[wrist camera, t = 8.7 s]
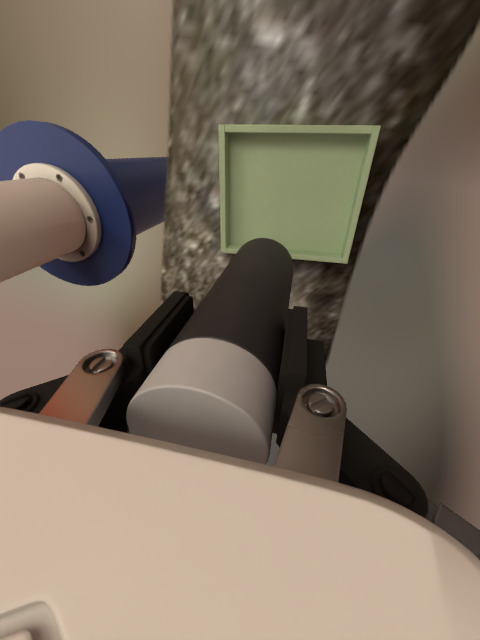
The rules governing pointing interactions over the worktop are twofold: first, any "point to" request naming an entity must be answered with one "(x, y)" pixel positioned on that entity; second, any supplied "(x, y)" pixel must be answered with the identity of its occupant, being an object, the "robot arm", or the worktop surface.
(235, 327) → the tool handle
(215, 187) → the worktop surface
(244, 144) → the tray
